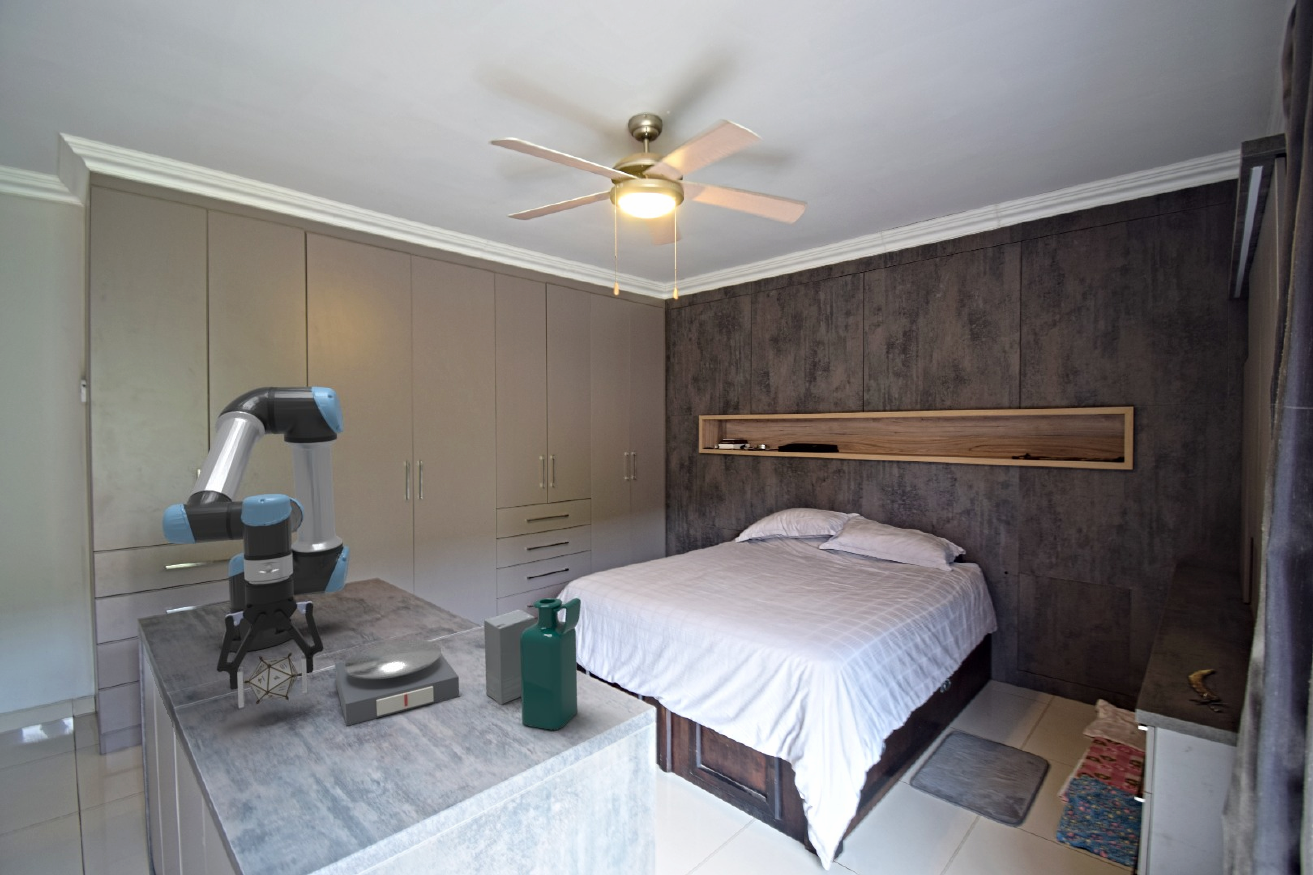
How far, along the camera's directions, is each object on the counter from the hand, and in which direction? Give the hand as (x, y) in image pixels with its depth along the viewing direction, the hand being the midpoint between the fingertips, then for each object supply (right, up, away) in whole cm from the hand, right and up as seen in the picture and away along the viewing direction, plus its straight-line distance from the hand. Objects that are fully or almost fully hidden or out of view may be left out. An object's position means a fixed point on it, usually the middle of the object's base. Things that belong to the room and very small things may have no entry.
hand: (273, 697), depth 110 cm
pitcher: (+53, -3, -2) cm, 53 cm away
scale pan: (+18, +2, +11) cm, 21 cm away
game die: (0, -1, 0) cm, 1 cm away
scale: (+18, -3, +11) cm, 21 cm away
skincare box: (+42, -3, +8) cm, 43 cm away
